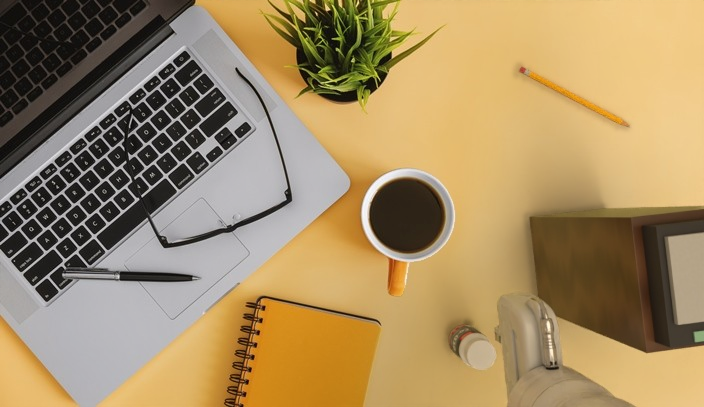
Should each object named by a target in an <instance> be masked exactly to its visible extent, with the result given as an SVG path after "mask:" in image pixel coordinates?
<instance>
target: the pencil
mask: <svg viewBox="0 0 704 407" xmlns="http://www.w3.org/2000/svg"><path fill="white" fill-rule="evenodd" d="M519 73H522V74H524V75H525V76H528V77H530V78H531V79H533V80H535V81H536V82H537V81H538V82H539V83H541V84H543V85H545V86H546V87H548V88H550V89H552V90H554V91H556V92H558V93H560V94H562V95H564V96H565V97H568V98H569V99H571V100H573V101H575V102H577V103H579V104H581V105H583V106H585V107H586V108H588V109H590V110H591V111H594V112H596V113H598V114H600V115H602V116H603V117H605V118H607V119H609V120H611V121H613V122H615V123H617V124H619V125H621V126H625V127H628V128H631V125H629V123H627V122H626V121H625V120H624V119H622V118H620V117H618V116H617V115H614V114H613V113H611V112H609V111H608V110H605V109H603V108H601V107H599V106H598V105H596V104H594V103H592V102H590V101H589V100H587V99H584V98H582V97H581V96H579V95H576V94H575V93H573V92H571V91H569V90H567V89H565V88H564V87H561V86H560V85H558V84H556V83H554V82H552V81H550V80H549V79H546V78H544V77H543V76H540V75H539V74H537V73H535V72H534V71H531V70H529V69H527V68H526V67H523V66H521V67H520V69H519Z"/></svg>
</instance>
